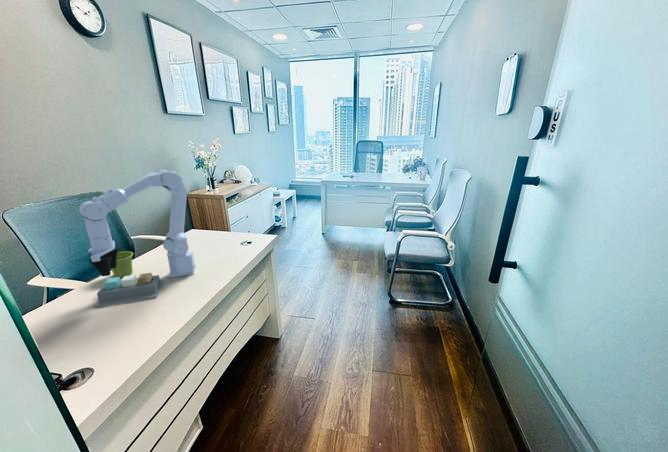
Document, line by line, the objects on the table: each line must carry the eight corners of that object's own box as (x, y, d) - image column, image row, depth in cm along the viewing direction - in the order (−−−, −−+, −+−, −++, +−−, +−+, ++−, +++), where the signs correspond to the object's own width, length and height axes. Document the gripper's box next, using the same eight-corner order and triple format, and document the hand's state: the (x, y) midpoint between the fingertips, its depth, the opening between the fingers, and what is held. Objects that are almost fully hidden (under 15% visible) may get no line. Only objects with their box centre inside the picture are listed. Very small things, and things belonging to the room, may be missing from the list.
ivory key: (137, 282, 100) (135, 274, 99) (134, 287, 97) (132, 279, 96) (126, 284, 99) (124, 276, 98) (123, 289, 95) (120, 280, 94)
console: (163, 280, 108) (161, 272, 106) (156, 297, 96) (154, 288, 95) (109, 288, 101) (106, 279, 100) (94, 307, 90) (91, 297, 88)
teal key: (121, 285, 98) (119, 276, 97) (118, 290, 95) (116, 281, 94) (109, 286, 97) (107, 278, 96) (106, 292, 94) (103, 283, 93)
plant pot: (122, 281, 106) (117, 261, 104) (103, 278, 108) (98, 259, 105) (142, 270, 115) (138, 252, 112) (124, 268, 117) (120, 250, 114)
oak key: (153, 280, 102) (151, 272, 101) (150, 285, 99) (149, 277, 98) (142, 282, 100) (140, 274, 99) (139, 286, 97) (137, 278, 96)
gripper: (94, 230, 94) (103, 264, 99) (74, 245, 82) (86, 283, 86) (118, 228, 97) (126, 261, 101) (102, 242, 84) (112, 279, 88)
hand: (109, 271), depth 94 cm, fingers open, 5 cm apart
